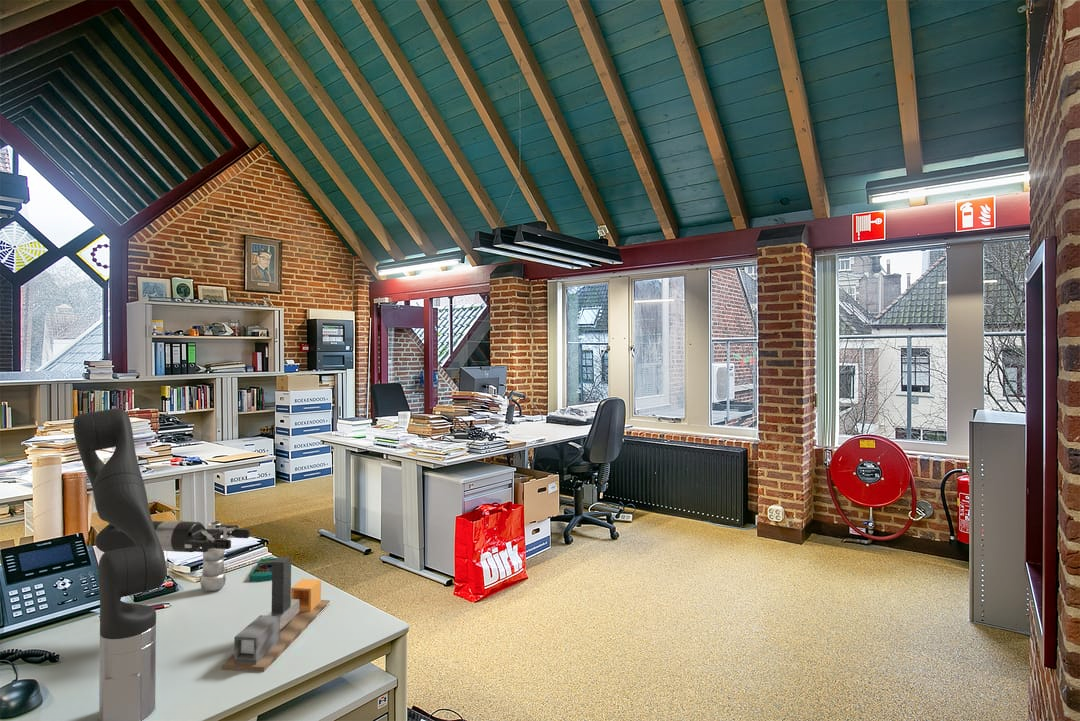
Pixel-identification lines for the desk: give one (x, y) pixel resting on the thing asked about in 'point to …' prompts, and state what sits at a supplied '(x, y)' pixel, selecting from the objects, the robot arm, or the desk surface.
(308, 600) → the far socket
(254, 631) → the bolt guide base
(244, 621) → the desk surface
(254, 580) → the digital multimeter
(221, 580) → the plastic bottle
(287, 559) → the slide bolt
